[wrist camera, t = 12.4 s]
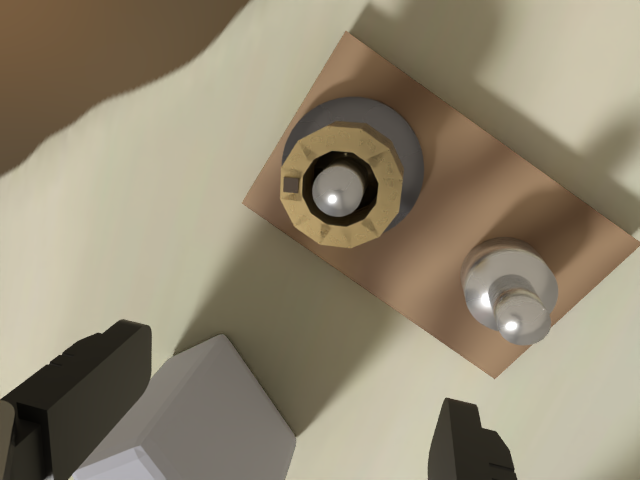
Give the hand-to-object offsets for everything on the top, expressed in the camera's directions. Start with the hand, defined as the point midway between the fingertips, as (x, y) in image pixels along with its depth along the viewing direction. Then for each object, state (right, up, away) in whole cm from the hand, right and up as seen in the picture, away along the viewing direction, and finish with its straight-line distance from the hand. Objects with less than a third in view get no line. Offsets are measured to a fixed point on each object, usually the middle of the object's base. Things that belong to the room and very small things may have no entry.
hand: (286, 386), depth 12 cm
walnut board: (+8, +6, +19) cm, 21 cm away
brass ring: (+2, +7, +14) cm, 17 cm away
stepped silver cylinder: (+13, +2, +18) cm, 22 cm away
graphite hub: (+3, +8, +17) cm, 19 cm away
